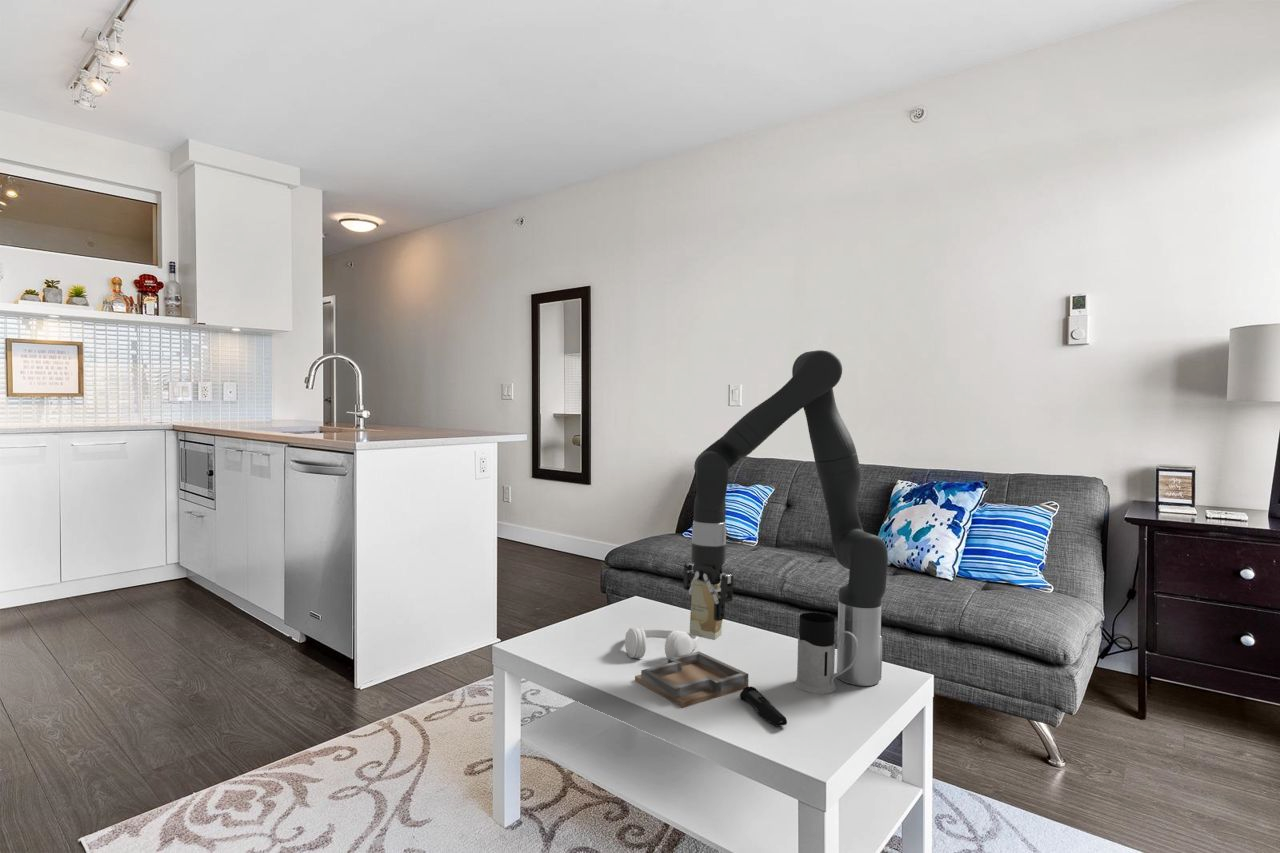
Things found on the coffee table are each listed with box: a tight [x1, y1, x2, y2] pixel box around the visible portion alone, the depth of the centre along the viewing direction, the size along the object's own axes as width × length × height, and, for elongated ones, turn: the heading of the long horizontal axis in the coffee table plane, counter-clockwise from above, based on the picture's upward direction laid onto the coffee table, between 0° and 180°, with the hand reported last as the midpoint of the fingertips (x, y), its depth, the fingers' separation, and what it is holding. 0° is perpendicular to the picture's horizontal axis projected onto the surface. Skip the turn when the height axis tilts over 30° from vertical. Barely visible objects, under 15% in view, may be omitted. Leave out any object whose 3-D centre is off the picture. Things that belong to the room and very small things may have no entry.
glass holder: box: [794, 612, 858, 695], centre depth 145 cm, size 9×14×15 cm, turn 42°
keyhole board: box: [634, 651, 749, 708], centre depth 146 cm, size 18×16×3 cm
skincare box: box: [688, 579, 723, 641], centre depth 148 cm, size 6×4×12 cm
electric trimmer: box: [739, 686, 788, 727], centre depth 132 cm, size 4×16×3 cm, turn 16°
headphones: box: [624, 626, 699, 660], centre depth 167 cm, size 7×18×20 cm
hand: (706, 615), depth 148 cm, fingers closed on skincare box, 7 cm apart
